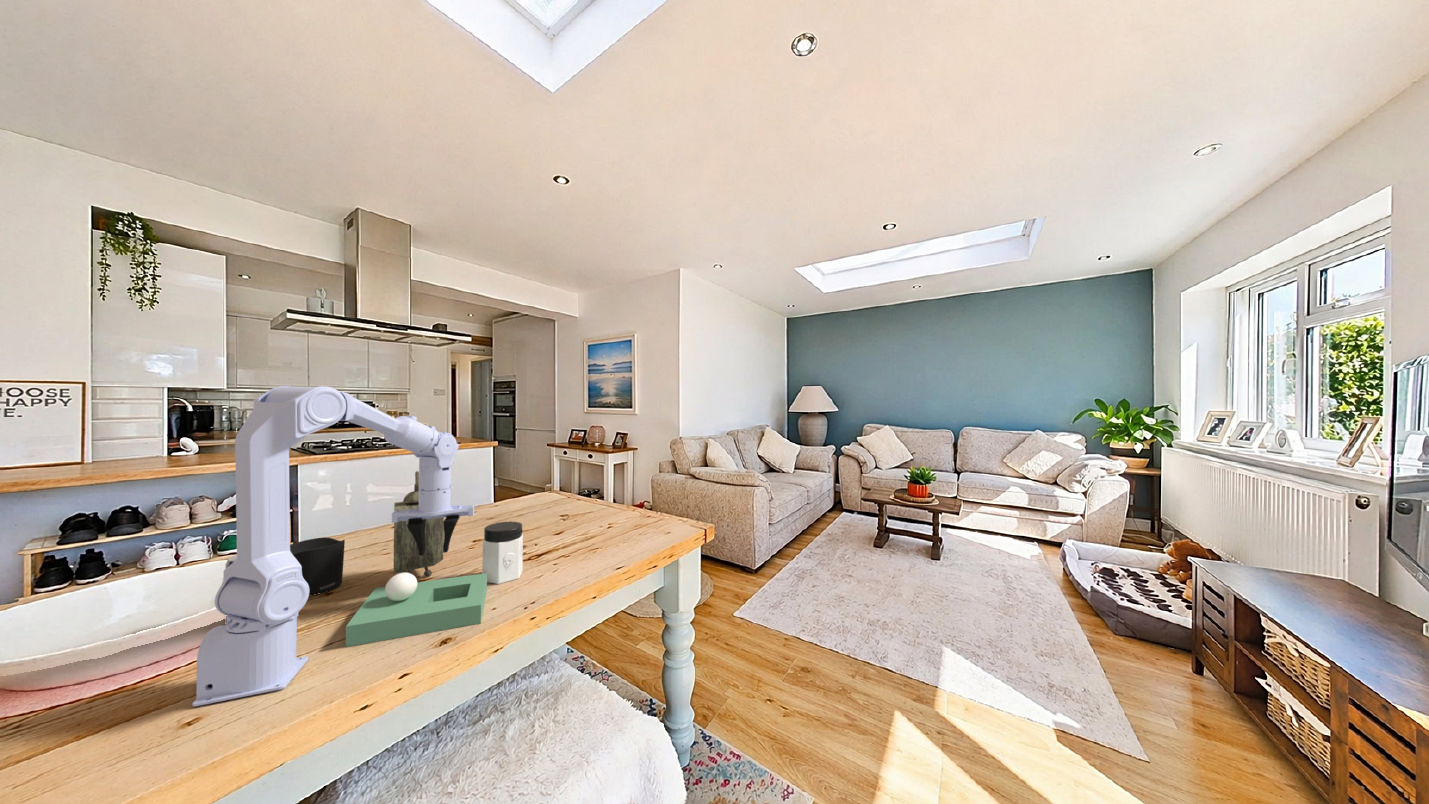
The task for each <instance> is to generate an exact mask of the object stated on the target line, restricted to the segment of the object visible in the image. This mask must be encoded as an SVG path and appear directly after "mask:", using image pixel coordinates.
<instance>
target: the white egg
mask: <svg viewBox="0 0 1429 804" xmlns="http://www.w3.org/2000/svg"><path fill="white" fill-rule="evenodd" d="M417 582H418V580H417V577H416V576H415V575H414V574H413V573H411V574H410V573H407V572H405V573H399V572H398V573H397V574H395V575H394V576H392V577H390V578H389V579H388V581H387V582H386V584H385V586H384V587H385V593H386V596H387V597H388V598H389V599H391V600H393V601H402V600H405V599H407V598H409V597H410V596H411V595H412V594H413V593H414V592H415V590H416V588H417Z"/></svg>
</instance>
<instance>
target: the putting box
mask: <svg viewBox="0 0 1429 804" xmlns="http://www.w3.org/2000/svg"><path fill="white" fill-rule="evenodd" d="M385 587H386V586H380V587H375V588H374V589H373V590H372V592H371V593H370V595H369V596H368V597H367V598H366V599H365V601H364V602H363V604H362V605H361V606H360V608H358V610H357V611H356V612H355V614H354V615H353V617H352V618H351V619H350V620H349V622H348V623H347V624H346V626H345V647H346V648H348V647H354V646H359V645H366V644H371V643H377V642H382V641H383V642H384V641H387V640H388V641H389V640H394V639H399V638H406V637H411V636H416V635H422V634H428V633H433V632H439V631H446V630H451V629H455V628H463V627H468V626H474V625H479V624H481V623H482V617H483V611H484V607H485V601H486V597H487V596H486V595H487V592H488V591H487V590H488V589H487V588H488V582H487V573H484V574H482V573H477V574H476V573H475V574H470V575H463V576H454V577H448V578H439V579H434V580H433V579H432V580H425V581H424V580H423V581H417V588H416V590H415V592H414V593H413V594H412V595H411V596H410V597H409V598H407V599H405V600H402V601H393V600H391V599H389V598H388V597H387V596H386V593H385Z"/></svg>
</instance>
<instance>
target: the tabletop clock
mask: <svg viewBox="0 0 1429 804" xmlns="http://www.w3.org/2000/svg"><path fill="white" fill-rule="evenodd" d="M414 473H415V474H414V476H415V484H413V485H414V486H413V487H414V488H413V489H414V491H410V492H408V493H407V494H406V495H405V496H404V498H403V500H402V501H398V502H394V505H393V506H394V507H393V512H394V511H401V510H409V509H417V508H419V470H418V471H417V470H416V471H415V472H414ZM444 520H445V517H444V518H432V519H426V524H425V553H424V554H423V555H419V551H418V547H417V544H416V541H415V539H414V537H413V535H412V534H411V532H410V531H409V529H408V527H407V524H408V521H399V522H394V523H393V574H396V573H397V574H399V573H404V572H405V573H410V574H413V572H415V571H416V570H417V569H418V570H419V569H424V572H423V576H424V577H425V578H428V577H429V578H430V576H432V574H433V571H432V570H431V569H429V567H434V566H435V565H437V564H439V563H440V562H442V561H443V560H444V553H443V546H444Z"/></svg>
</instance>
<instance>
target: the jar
mask: <svg viewBox="0 0 1429 804" xmlns="http://www.w3.org/2000/svg"><path fill="white" fill-rule="evenodd" d="M483 531H484V532H483V535H484V536H483V539H484V540H482V560H481V561H482V567H481V568H482V571H481V572H482V573H481V574H484V573H487V584H496V585H501V584H504V583H508V582H511V581H515V580H518V579H520V577H521V576H522V575H521V574H522V573H523V567H524V566H523V562H524V561H523V559H524V558H523V556H524V554H523V551H524V549H523V548H524V547H523V546H524V533H523V524H522V523H521V522H517V521H501V522H495V523H492V524H488V525H486V526H485V527H484V530H483Z"/></svg>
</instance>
